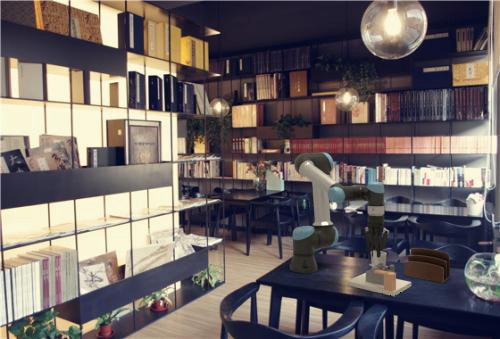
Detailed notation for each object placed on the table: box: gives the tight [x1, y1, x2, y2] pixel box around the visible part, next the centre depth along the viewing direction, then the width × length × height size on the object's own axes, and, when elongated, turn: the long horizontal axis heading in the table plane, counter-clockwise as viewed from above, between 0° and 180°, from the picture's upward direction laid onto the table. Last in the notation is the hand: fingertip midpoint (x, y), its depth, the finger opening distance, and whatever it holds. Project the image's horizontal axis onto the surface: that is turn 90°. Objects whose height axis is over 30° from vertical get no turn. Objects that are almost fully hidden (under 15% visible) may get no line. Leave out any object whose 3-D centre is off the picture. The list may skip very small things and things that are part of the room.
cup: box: [370, 250, 388, 270], centre depth 226 cm, size 8×8×12 cm
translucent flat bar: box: [368, 263, 389, 270], centre depth 209 cm, size 4×16×1 cm, turn 137°
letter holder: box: [403, 247, 451, 284], centre depth 222 cm, size 10×20×14 cm, turn 49°
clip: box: [374, 269, 397, 291], centre depth 199 cm, size 9×4×8 cm, turn 47°
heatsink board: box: [346, 263, 412, 297], centre depth 209 cm, size 24×19×9 cm
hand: (376, 263), depth 206 cm, fingers closed
